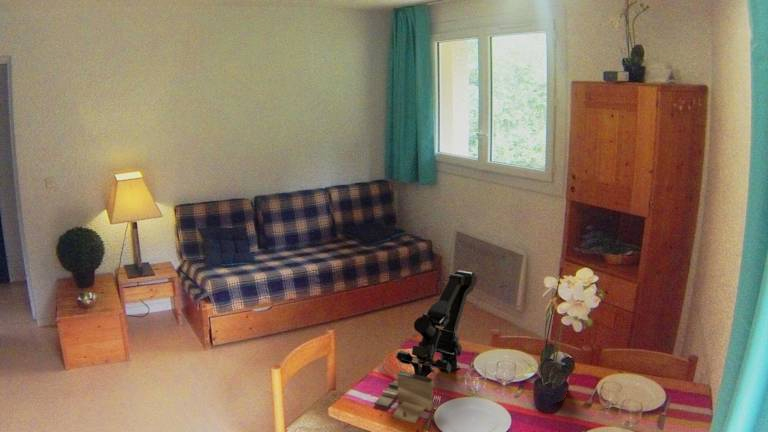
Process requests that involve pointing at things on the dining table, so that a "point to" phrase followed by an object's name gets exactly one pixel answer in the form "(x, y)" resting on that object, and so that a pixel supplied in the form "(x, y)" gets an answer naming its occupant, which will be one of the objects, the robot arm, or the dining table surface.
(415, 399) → the beige stand
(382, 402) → the board
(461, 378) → the dining table surface
